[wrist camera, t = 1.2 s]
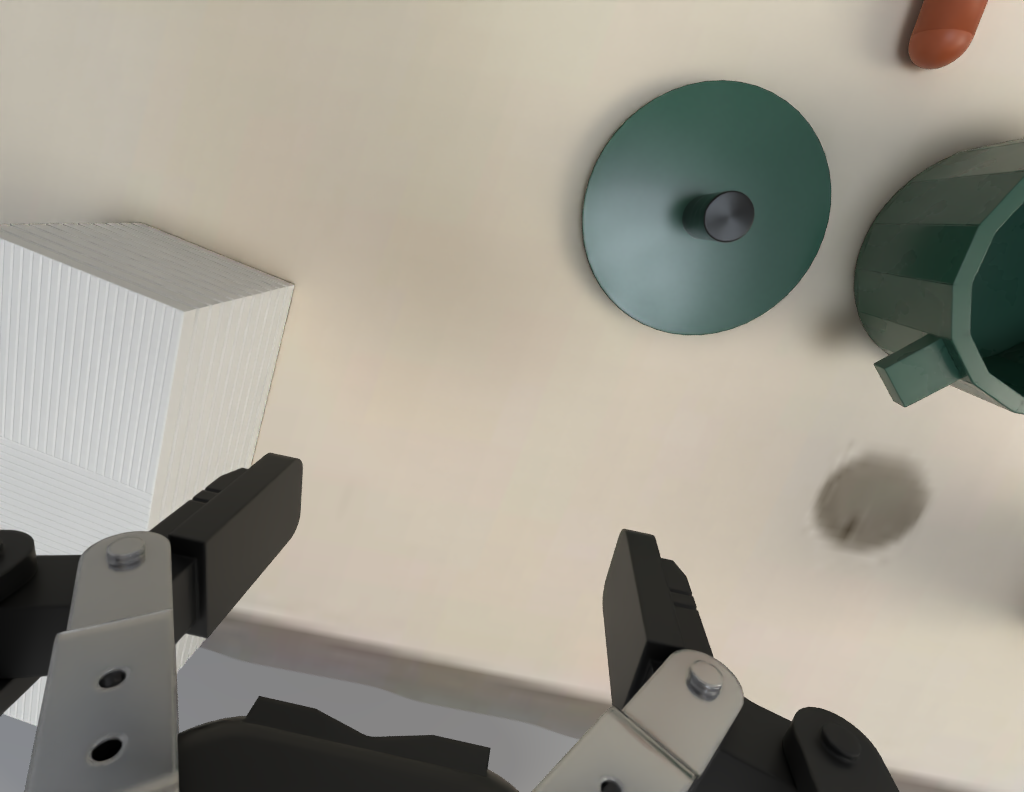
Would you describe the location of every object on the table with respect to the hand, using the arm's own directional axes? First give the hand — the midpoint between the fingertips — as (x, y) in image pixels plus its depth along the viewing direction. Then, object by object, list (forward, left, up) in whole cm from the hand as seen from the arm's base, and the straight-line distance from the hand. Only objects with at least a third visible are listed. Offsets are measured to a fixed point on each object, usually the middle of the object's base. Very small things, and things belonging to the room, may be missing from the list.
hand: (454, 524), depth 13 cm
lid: (-9, +9, -22) cm, 26 cm away
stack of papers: (+14, -24, -23) cm, 36 cm away
